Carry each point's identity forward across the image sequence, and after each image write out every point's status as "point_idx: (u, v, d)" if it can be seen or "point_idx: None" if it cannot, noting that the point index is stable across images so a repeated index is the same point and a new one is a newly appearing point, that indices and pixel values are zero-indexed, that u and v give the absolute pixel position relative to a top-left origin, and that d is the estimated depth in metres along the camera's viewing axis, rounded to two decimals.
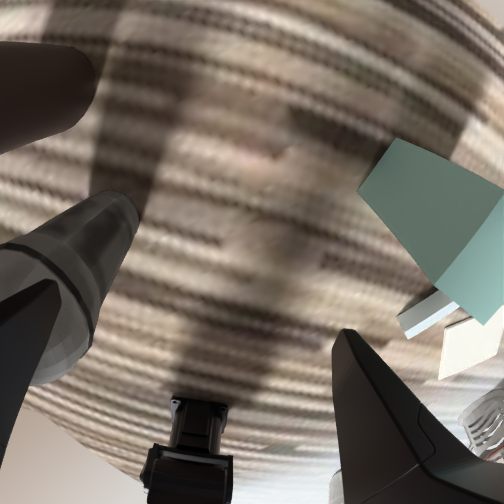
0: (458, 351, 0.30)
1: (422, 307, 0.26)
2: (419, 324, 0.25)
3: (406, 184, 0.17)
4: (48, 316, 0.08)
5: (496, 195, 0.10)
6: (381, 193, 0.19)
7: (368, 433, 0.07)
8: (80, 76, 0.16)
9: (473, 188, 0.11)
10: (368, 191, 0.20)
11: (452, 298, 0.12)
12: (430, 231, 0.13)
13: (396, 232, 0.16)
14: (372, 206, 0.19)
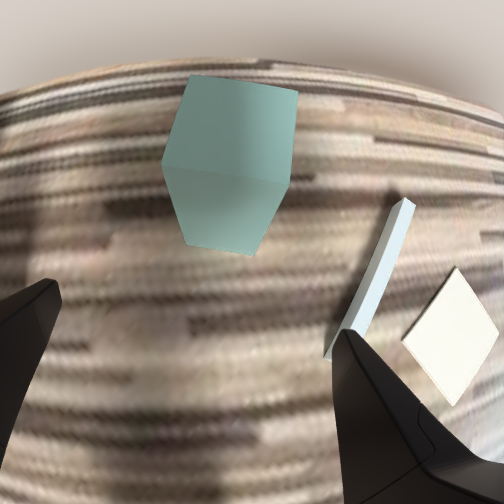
0: (445, 358, 0.23)
1: (343, 327, 0.22)
2: None
3: None
4: (48, 316, 0.08)
5: None
6: None
7: (368, 433, 0.07)
8: None
9: None
10: None
11: (198, 168, 0.12)
12: None
13: (175, 205, 0.16)
14: (182, 229, 0.20)
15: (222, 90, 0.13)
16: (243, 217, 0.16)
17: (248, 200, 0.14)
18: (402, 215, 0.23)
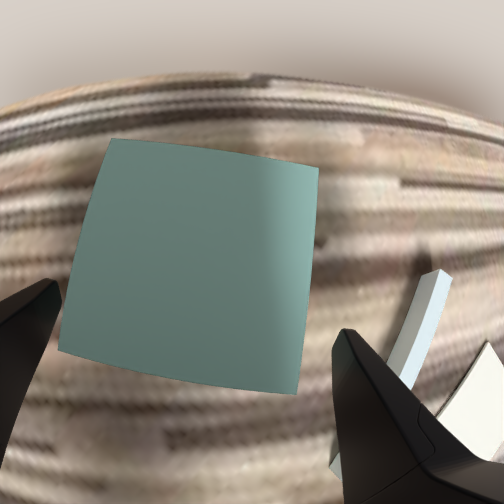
0: (466, 445, 0.17)
1: None
2: None
3: None
4: (48, 316, 0.08)
5: None
6: None
7: (368, 433, 0.07)
8: None
9: None
10: None
11: (122, 364, 0.06)
12: None
13: None
14: None
15: (167, 173, 0.07)
16: None
17: None
18: (437, 294, 0.17)
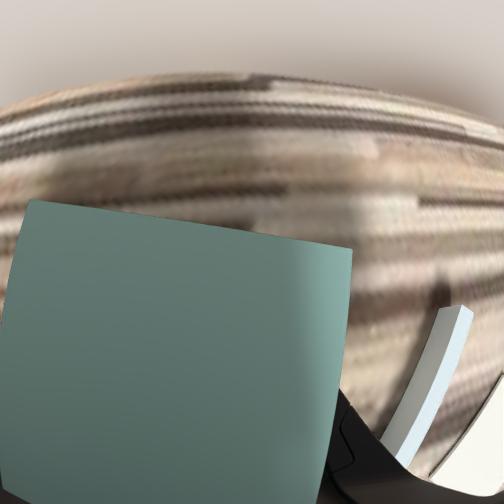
0: (474, 480, 0.14)
1: None
2: None
3: None
4: None
5: None
6: None
7: None
8: None
9: None
10: None
11: None
12: None
13: None
14: None
15: (105, 266, 0.04)
16: None
17: None
18: (457, 333, 0.15)
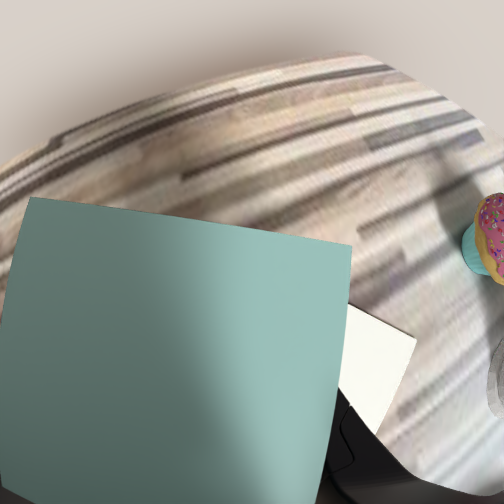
0: None
1: None
2: None
3: None
4: None
5: None
6: None
7: None
8: None
9: None
10: None
11: None
12: None
13: None
14: None
15: (105, 263, 0.04)
16: None
17: None
18: None
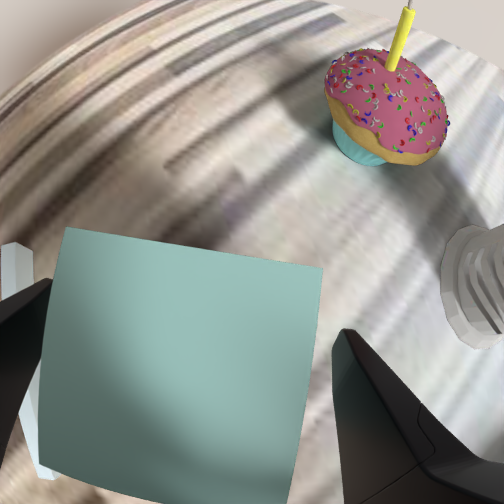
0: None
1: None
2: (32, 455, 0.12)
3: None
4: None
5: None
6: None
7: (368, 433, 0.07)
8: None
9: None
10: None
11: (104, 486, 0.04)
12: None
13: None
14: None
15: (132, 281, 0.05)
16: None
17: None
18: (5, 271, 0.14)
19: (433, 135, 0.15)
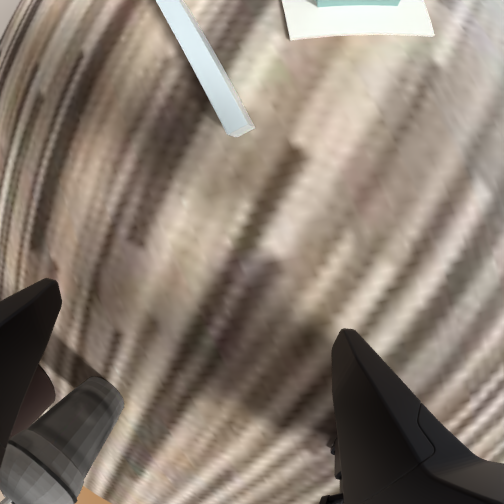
0: None
1: None
2: (217, 108, 0.16)
3: None
4: (48, 316, 0.08)
5: None
6: None
7: (368, 433, 0.07)
8: None
9: None
10: None
11: None
12: None
13: None
14: None
15: None
16: None
17: None
18: None
19: None
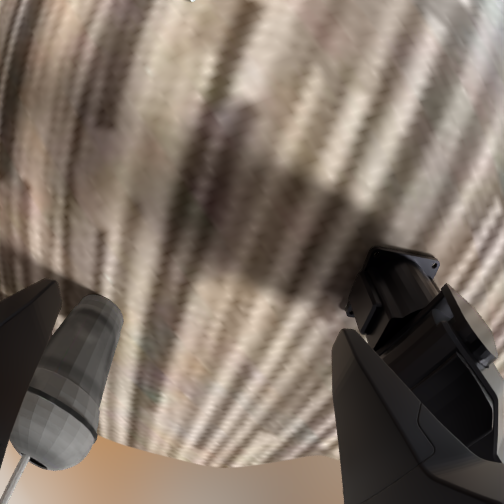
0: None
1: None
2: None
3: None
4: (48, 316, 0.08)
5: None
6: None
7: (368, 433, 0.07)
8: None
9: None
10: None
11: None
12: None
13: None
14: None
15: None
16: None
17: None
18: None
19: None
